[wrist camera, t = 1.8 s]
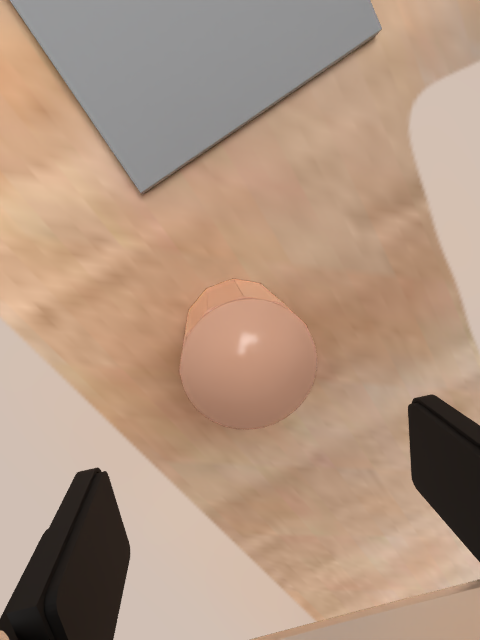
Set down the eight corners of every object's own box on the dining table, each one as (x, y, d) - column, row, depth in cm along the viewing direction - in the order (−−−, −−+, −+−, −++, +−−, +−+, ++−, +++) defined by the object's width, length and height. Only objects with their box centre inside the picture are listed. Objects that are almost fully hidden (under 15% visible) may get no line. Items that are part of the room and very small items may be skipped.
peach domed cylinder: (297, 289, 23) (331, 312, 17) (276, 383, 25) (300, 435, 19) (194, 271, 22) (191, 289, 16) (179, 370, 24) (171, 421, 18)
